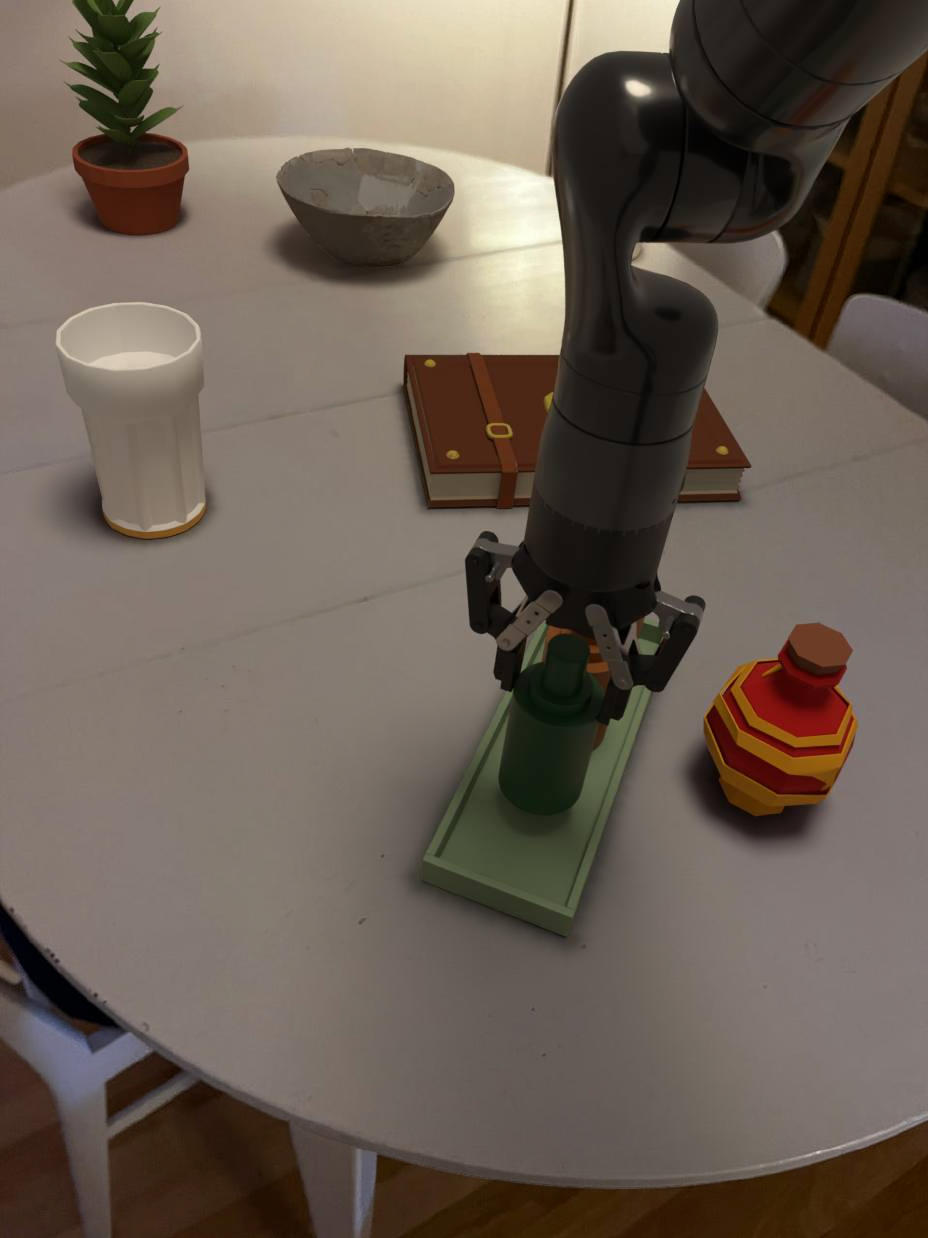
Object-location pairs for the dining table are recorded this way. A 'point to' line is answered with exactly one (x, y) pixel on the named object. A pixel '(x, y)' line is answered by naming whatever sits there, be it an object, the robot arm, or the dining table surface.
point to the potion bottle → (784, 724)
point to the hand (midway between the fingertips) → (558, 698)
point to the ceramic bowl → (366, 203)
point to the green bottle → (551, 729)
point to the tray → (532, 820)
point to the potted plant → (125, 125)
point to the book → (522, 431)
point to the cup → (139, 412)
